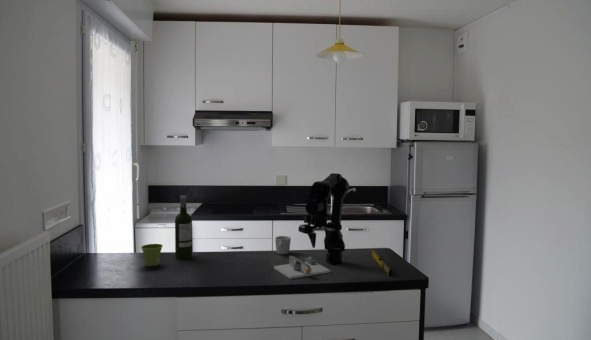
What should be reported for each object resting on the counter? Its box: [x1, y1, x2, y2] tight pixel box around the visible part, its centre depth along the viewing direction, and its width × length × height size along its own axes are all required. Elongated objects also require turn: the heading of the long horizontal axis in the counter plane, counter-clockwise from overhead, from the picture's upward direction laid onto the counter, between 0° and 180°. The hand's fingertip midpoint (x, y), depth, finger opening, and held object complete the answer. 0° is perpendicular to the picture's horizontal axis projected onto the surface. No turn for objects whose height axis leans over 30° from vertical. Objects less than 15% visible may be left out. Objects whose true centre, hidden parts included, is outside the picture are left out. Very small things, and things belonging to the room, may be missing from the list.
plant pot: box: [140, 243, 163, 267], centre depth 194 cm, size 9×9×9 cm
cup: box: [274, 235, 292, 255], centre depth 215 cm, size 11×8×8 cm
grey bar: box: [288, 255, 311, 274], centre depth 186 cm, size 5×18×4 cm, turn 28°
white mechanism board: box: [273, 256, 331, 280], centre depth 189 cm, size 20×16×4 cm
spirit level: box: [370, 249, 393, 277], centre depth 199 cm, size 33×1×3 cm, turn 3°
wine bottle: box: [174, 195, 193, 260], centre depth 207 cm, size 8×8×30 cm
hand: (320, 247), depth 183 cm, fingers open, 6 cm apart
